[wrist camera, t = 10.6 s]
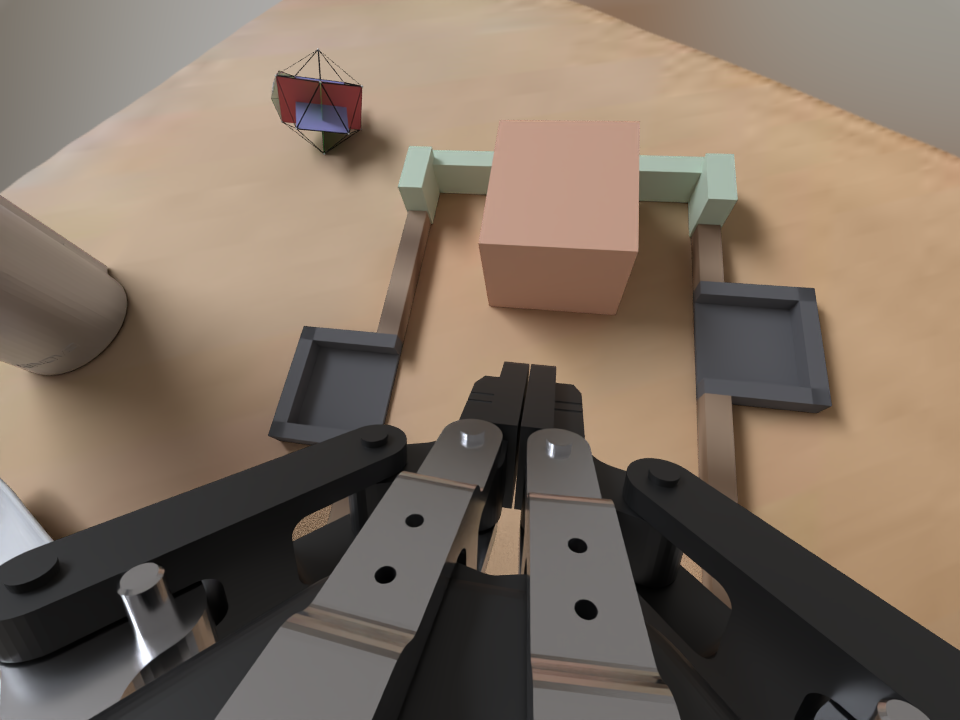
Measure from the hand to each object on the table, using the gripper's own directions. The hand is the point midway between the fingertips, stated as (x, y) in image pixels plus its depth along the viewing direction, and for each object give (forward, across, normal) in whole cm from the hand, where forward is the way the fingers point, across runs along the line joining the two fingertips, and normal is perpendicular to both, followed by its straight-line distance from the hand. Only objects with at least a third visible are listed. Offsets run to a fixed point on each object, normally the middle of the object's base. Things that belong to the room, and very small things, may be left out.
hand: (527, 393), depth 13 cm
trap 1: (+18, -14, +4) cm, 23 cm away
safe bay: (+26, 0, -3) cm, 27 cm away
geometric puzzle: (+32, +21, -8) cm, 39 cm away
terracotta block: (+23, 0, 0) cm, 23 cm away
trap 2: (+14, +13, +9) cm, 22 cm away
